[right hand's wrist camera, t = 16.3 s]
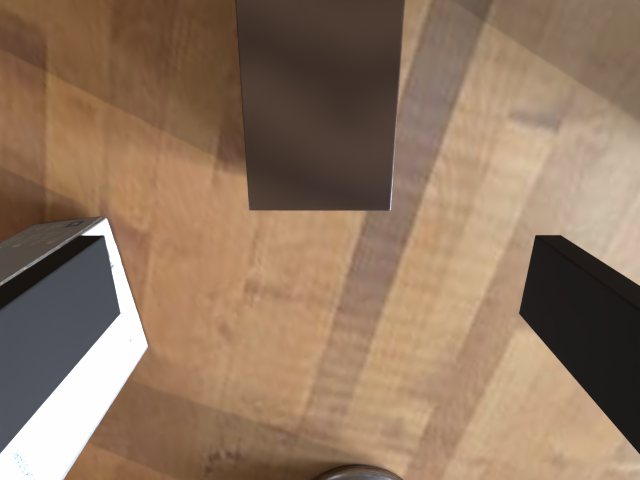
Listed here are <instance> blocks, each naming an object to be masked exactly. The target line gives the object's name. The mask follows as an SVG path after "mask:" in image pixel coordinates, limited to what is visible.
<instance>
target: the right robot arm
mask: <svg viewBox="0 0 640 480" xmlns="http://www.w3.org/2000/svg"><path fill="white" fill-rule="evenodd" d="M120 314H121V312H120V307H119V302H118V297H117V293H116V288H115V283H114V278H113V274H112V269H111V264H110V259H109V255H108V250H107V245H106V240H105V236H104V235H79V236H77V237H76V238H74V239H73V240H71V241H70V242H68V243H66V244H65V245H63V246H62V247H60V248H59V249H57V250H56V251H54V252H52V253H51V254H49V255H48V256H46V257H45V258H43V259H41V260H40V261H38V262H37V263H35V264H34V265H32V266H31V267H29V268H27V269H26V270H24V271H23V272H21V273H20V274H18V275H16V276H15V277H13V278H12V279H10V280H9V281H7V282H5V283H4V284H2V285H1V286H0V454H1V453H2V451H3V450H4V449H5V448H6V447H7V446H8V444H9V443H10V442H11V441H12V440H13V439H14V437H15V436H16V435H17V434H18V433H19V432H20V430H21V429H22V428H23V427H24V426H25V425H26V424H27V422H28V421H29V420H30V419H31V418H32V417H33V415H34V414H35V413H36V412H37V411H38V410H39V408H40V407H41V406H42V405H43V404H44V403H45V401H46V400H47V399H48V398H49V397H50V396H51V394H52V393H53V392H54V391H55V390H56V389H57V387H58V386H59V385H60V384H61V383H62V382H63V380H64V379H65V378H66V377H67V376H68V375H69V373H70V372H71V371H72V370H73V369H74V368H75V366H76V365H77V364H78V363H79V362H80V361H81V359H82V358H83V357H84V356H85V355H86V354H87V352H88V351H89V350H90V349H91V348H92V347H93V345H94V344H95V343H96V342H97V341H98V340H99V338H100V337H101V336H102V335H103V334H104V333H105V331H106V330H107V329H108V328H109V327H110V326H111V324H112V323H113V322H114V321H115V320H116V319H117V317H118V316H119V315H120ZM519 314H520V315H521V316H522V317H523V319H524V320H525V321H526V322H527V323H528V324H529V326H530V327H531V328H532V329H533V330H534V331H535V333H536V334H537V335H538V336H539V337H540V338H541V340H542V341H543V342H544V343H545V344H546V345H547V347H548V348H549V349H550V350H551V351H552V352H553V354H554V355H555V356H556V357H557V358H558V359H559V361H560V362H561V363H562V364H563V365H564V366H565V368H566V369H567V370H568V371H569V372H570V373H571V375H572V376H573V377H574V378H575V379H576V380H577V382H578V383H579V384H580V385H581V386H582V387H583V389H584V390H585V391H586V392H587V393H588V394H589V396H590V397H591V398H592V399H593V400H594V401H595V403H596V404H597V405H598V406H599V407H600V408H601V410H602V411H603V412H604V413H605V414H606V415H607V417H608V418H609V419H610V420H611V421H612V422H613V424H614V425H615V426H616V427H617V428H618V429H619V431H620V432H621V433H622V434H623V435H624V436H625V437H626V439H627V440H628V441H629V442H630V443H631V444H632V446H633V447H634V448H635V449H636V450H637V451H638V453H639V454H640V286H639V285H638V284H636V283H635V282H633V281H631V280H630V279H628V278H627V277H625V276H624V275H622V274H620V273H619V272H617V271H616V270H614V269H613V268H611V267H609V266H608V265H606V264H605V263H603V262H602V261H600V260H599V259H597V258H595V257H594V256H592V255H591V254H589V253H588V252H586V251H584V250H583V249H581V248H580V247H578V246H577V245H575V244H574V243H572V242H570V241H569V240H567V239H566V238H564V237H563V236H561V235H536V236H535V240H534V245H533V250H532V255H531V259H530V264H529V269H528V274H527V278H526V283H525V288H524V293H523V297H522V302H521V307H520V312H519ZM315 480H402V479H401V478H400V477H399V476H397V475H395V474H394V473H392V472H390V471H387V470H384V469H381V468H377V467H372V466H363V465H355V466H346V467H341V468H337V469H334V470H331V471H328V472H326V473H324V474H322V475H320V476H319V477H317V478H316V479H315Z"/></svg>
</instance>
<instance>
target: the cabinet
mask: <svg viewBox="0 0 640 480" xmlns="http://www.w3.org/2000/svg"><path fill="white" fill-rule="evenodd" d="M235 2H236V17H237V32H238V48H239V63H240V78H241V93H242V108H243V123H244V138H245V153H246V168H247V183H248V198H249V210H354V211H390V210H391V198H392V183H393V168H394V154H395V139H396V124H397V109H398V94H399V80H400V65H401V50H402V35H403V21H404V6H405V0H235Z"/></svg>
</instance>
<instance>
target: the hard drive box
mask: <svg viewBox="0 0 640 480" xmlns="http://www.w3.org/2000/svg"><path fill="white" fill-rule="evenodd" d="M79 235H104V236H105V240H106V245H107V250H108V255H109V259H110V264H111V269H112V274H113V278H114V283H115V288H116V293H117V297H118V302H119V307H120V312H121V314H120V315H119V316H118V317H117V319H116V320H115V321H114V322H113V323H112V324H111V326H110V327H109V328H108V329H107V330H106V331H105V333H104V334H103V335H102V336H101V337H100V338H99V340H98V341H97V342H96V343H95V344H94V345H93V347H92V348H91V349H90V350H89V351H88V352H87V354H86V355H85V356H84V357H83V358H82V359H81V361H80V362H79V363H78V364H77V365H76V366H75V368H74V369H73V370H72V371H71V372H70V373H69V375H68V376H67V377H66V378H65V379H64V380H63V382H62V383H61V384H60V385H59V386H58V387H57V389H56V390H55V391H54V392H53V393H52V394H51V396H50V397H49V398H48V399H47V400H46V401H45V403H44V404H43V405H42V406H41V407H40V408H39V410H38V411H37V412H36V413H35V414H34V415H33V417H32V418H31V419H30V420H29V421H28V422H27V424H26V425H25V426H24V427H23V428H22V429H21V430H20V432H19V433H18V434H17V435H16V436H15V437H14V439H13V440H12V441H11V442H10V443H9V444H8V446H7V447H6V448H5V449H4V450H3V451H2V453H1V454H0V480H63V479H64V478H65V476H66V474H67V473H68V471H69V470H70V468H71V467H72V465H73V464H74V462H75V460H76V459H77V457H78V456H79V454H80V452H81V451H82V449H83V448H84V446H85V445H86V443H87V441H88V440H89V438H90V437H91V435H92V434H93V432H94V430H95V429H96V427H97V426H98V424H99V423H100V421H101V420H102V418H103V416H104V415H105V413H106V412H107V410H108V409H109V407H110V405H111V404H112V402H113V401H114V399H115V398H116V396H117V395H118V393H119V392H120V390H121V388H122V387H123V385H124V384H125V382H126V381H127V379H128V377H129V376H130V374H131V373H132V371H133V369H134V368H135V366H136V365H137V363H138V362H139V360H140V359H141V357H142V355H143V354H144V352H145V351H146V349H147V347H148V345H147V342H146V339H145V336H144V333H143V330H142V325H141V322H140V319H139V316H138V313H137V310H136V308H135V304H134V301H133V298H132V295H131V292H130V289H129V286H128V283H127V280H126V276H125V273H124V270H123V267H122V264H121V259H120V256H119V253H118V250H117V246H116V244H115V242H114V239H113V236H112V233H111V230H110V226H109V223H108V220H107V219H106V218H103V217H93V218H83V219H75V220H67V221H59V222H51V223H43V224H36V225H32V226H31V227H29V228H27V229H25V230H23V231H22V232H20V233H18V234H16V235H14V236H12V237H10V238H8V239H7V240H4V241H3V242H1V243H0V286H1V285H2V284H4V283H5V282H7V281H9V280H10V279H12V278H13V277H15V276H16V275H18V274H20V273H21V272H23V271H24V270H26V269H27V268H29V267H31V266H32V265H34V264H35V263H37V262H38V261H40V260H41V259H43V258H45V257H46V256H48V255H49V254H51V253H52V252H54V251H56V250H57V249H59V248H60V247H62V246H63V245H65V244H66V243H68V242H70V241H71V240H73V239H74V238H76V237H77V236H79Z"/></svg>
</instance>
